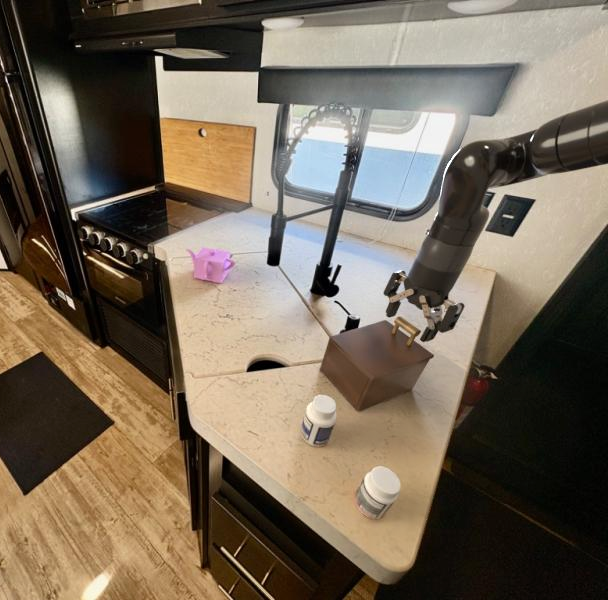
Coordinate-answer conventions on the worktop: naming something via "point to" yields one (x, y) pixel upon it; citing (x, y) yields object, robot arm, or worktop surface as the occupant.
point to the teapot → (211, 264)
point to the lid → (382, 347)
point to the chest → (366, 379)
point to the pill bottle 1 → (319, 421)
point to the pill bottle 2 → (377, 492)
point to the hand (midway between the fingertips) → (406, 327)
